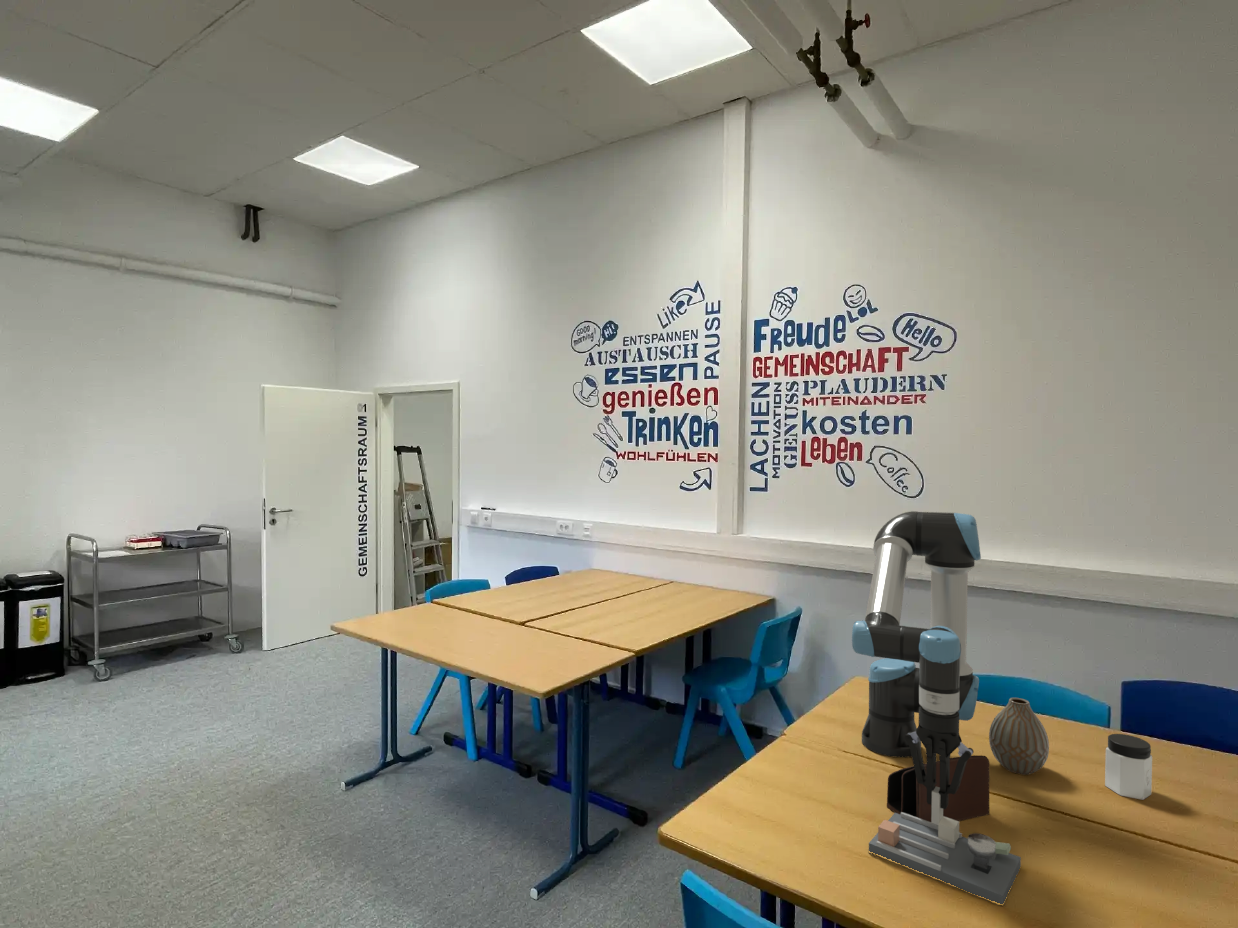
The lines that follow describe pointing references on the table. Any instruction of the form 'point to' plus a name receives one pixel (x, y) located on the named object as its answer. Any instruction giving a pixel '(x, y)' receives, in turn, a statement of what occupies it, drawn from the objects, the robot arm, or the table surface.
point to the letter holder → (913, 796)
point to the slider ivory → (948, 829)
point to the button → (981, 849)
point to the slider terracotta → (888, 833)
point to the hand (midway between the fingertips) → (937, 820)
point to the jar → (1128, 766)
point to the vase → (1019, 738)
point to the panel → (949, 858)
